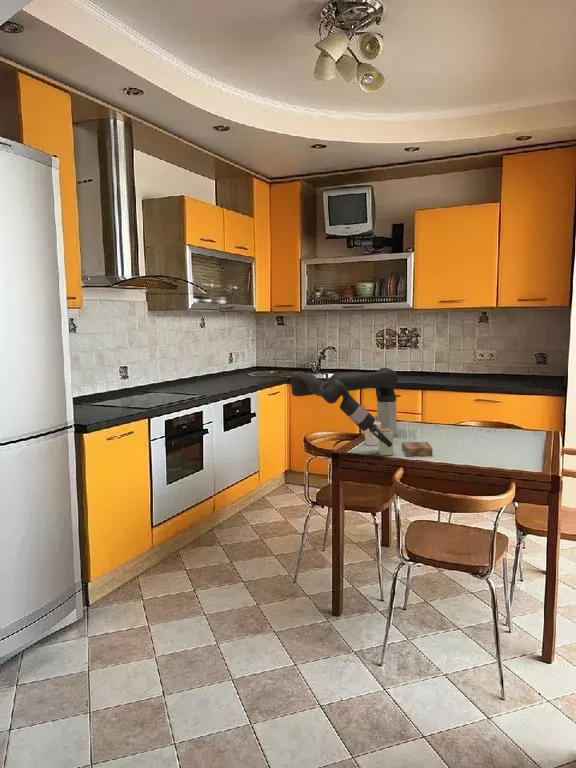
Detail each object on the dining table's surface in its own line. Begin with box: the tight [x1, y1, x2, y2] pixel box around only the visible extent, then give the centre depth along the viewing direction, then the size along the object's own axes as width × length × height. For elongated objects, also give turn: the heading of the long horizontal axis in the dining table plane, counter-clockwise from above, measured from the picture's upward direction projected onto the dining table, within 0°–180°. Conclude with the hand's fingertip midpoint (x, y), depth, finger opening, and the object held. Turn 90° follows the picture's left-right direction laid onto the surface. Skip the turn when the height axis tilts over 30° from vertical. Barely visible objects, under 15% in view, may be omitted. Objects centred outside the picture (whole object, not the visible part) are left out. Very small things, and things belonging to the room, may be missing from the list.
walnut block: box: [401, 441, 433, 458], centre depth 245 cm, size 11×11×4 cm
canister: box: [377, 428, 394, 456], centre depth 245 cm, size 5×5×11 cm
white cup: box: [363, 420, 381, 446], centre depth 264 cm, size 8×8×10 cm
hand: (389, 443), depth 245 cm, fingers closed on canister, 5 cm apart
